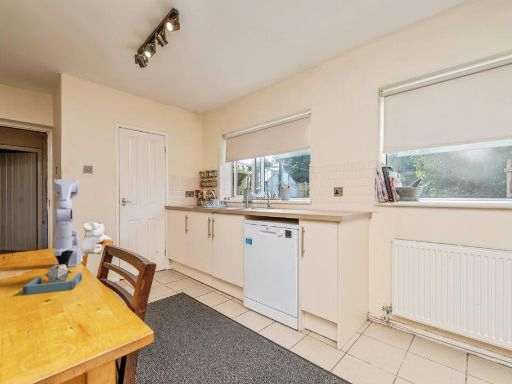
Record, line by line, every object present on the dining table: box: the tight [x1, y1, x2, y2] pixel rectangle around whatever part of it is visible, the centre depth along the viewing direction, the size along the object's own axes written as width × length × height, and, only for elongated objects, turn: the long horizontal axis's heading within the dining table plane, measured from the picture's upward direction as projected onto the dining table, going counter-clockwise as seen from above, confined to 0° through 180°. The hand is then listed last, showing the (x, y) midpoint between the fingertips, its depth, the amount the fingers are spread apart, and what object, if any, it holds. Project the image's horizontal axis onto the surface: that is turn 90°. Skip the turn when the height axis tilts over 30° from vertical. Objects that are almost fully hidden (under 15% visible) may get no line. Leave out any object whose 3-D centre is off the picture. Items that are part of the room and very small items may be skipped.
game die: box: [44, 262, 73, 283], centre depth 102 cm, size 9×8×10 cm
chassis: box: [22, 272, 83, 296], centre depth 98 cm, size 15×12×3 cm
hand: (63, 268), depth 107 cm, fingers closed
